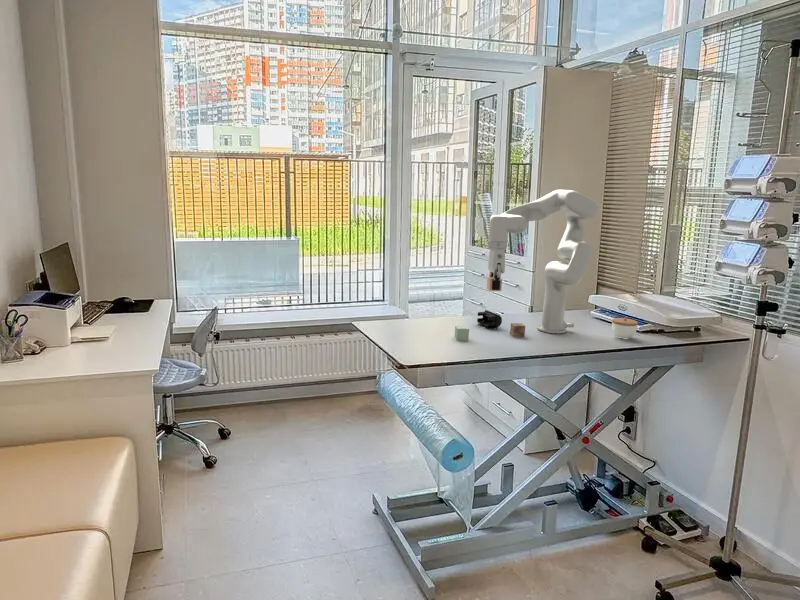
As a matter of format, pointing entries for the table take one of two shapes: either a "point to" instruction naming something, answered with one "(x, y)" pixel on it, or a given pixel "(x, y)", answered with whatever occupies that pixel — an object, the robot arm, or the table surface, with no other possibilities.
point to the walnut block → (517, 330)
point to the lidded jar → (624, 327)
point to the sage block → (461, 332)
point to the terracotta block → (489, 284)
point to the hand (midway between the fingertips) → (494, 288)
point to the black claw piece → (489, 319)
